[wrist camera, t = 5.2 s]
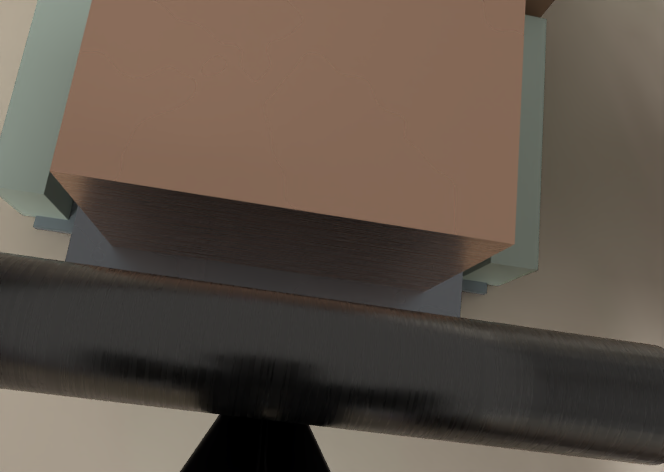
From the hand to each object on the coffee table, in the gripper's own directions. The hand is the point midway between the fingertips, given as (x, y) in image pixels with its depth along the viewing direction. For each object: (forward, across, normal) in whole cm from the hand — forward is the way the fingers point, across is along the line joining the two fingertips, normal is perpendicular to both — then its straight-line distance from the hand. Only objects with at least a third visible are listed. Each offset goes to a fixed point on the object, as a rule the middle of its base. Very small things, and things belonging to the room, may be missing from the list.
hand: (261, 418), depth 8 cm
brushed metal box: (+8, 0, +2) cm, 9 cm away
